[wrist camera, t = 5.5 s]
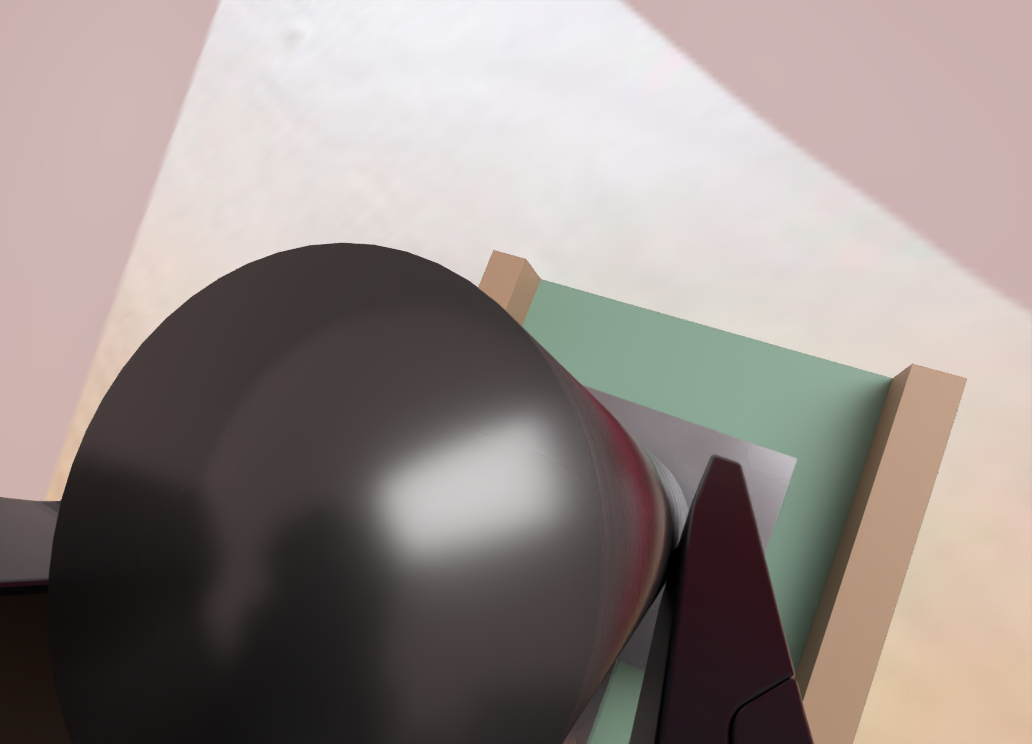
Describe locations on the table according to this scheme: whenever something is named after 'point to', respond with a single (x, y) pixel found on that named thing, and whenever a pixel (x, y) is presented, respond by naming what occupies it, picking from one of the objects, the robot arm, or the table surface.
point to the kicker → (364, 520)
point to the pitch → (785, 429)
